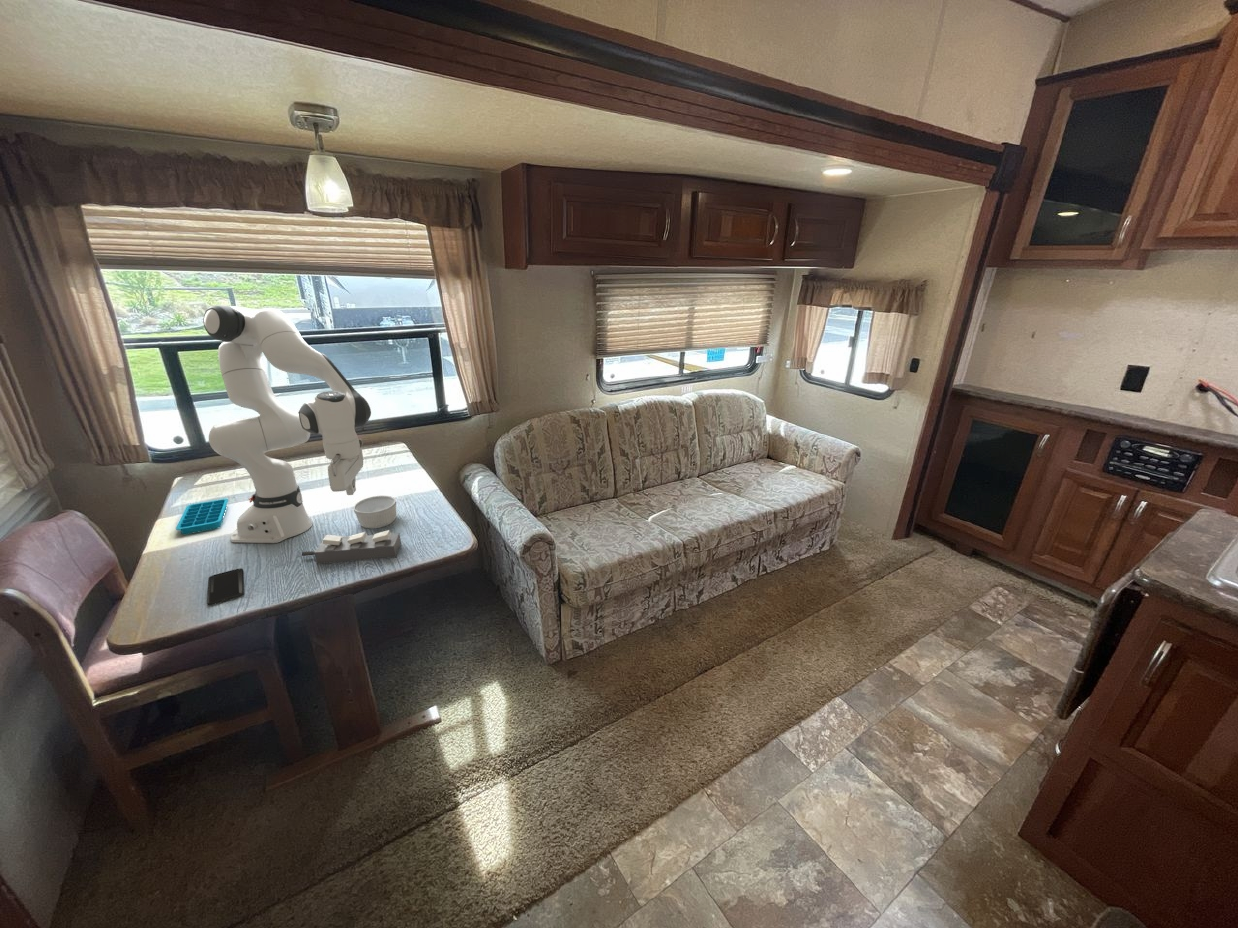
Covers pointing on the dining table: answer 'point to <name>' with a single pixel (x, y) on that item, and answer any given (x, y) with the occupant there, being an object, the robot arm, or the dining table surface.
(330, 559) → the power strip
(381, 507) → the ramekin
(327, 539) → the rocker
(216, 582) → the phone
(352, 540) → the rocker
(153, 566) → the dining table surface
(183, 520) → the ice cube tray
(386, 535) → the block
